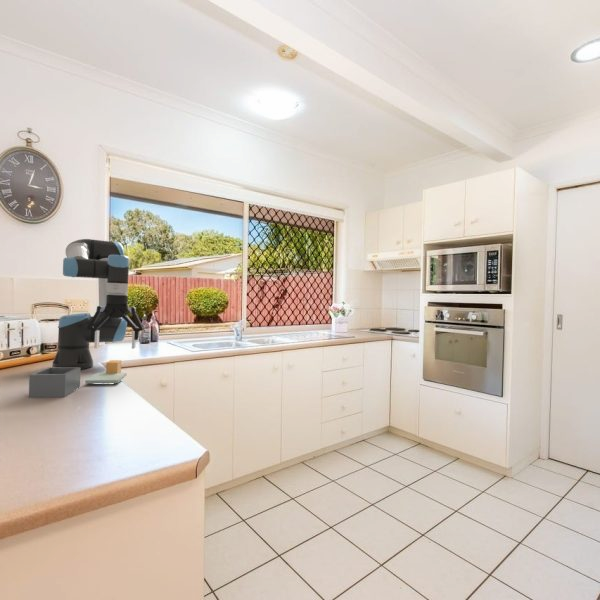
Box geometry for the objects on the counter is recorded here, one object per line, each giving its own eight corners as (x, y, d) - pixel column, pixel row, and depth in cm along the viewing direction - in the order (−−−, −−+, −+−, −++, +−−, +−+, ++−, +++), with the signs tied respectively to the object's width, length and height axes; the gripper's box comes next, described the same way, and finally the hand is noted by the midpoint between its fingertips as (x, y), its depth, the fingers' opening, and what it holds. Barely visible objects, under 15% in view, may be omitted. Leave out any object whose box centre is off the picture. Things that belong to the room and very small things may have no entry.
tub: (47, 387, 124) (48, 367, 124) (79, 387, 126) (80, 367, 126) (28, 397, 113) (29, 374, 113) (64, 397, 115) (65, 374, 115)
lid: (101, 375, 147) (101, 360, 147) (129, 375, 149) (130, 360, 149) (85, 386, 129) (85, 369, 129) (117, 385, 132) (118, 368, 131)
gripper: (78, 292, 139) (76, 348, 140) (148, 296, 144) (146, 349, 144) (86, 292, 146) (84, 345, 147) (152, 295, 151) (150, 346, 152)
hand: (115, 347), depth 146 cm, fingers open, 13 cm apart
